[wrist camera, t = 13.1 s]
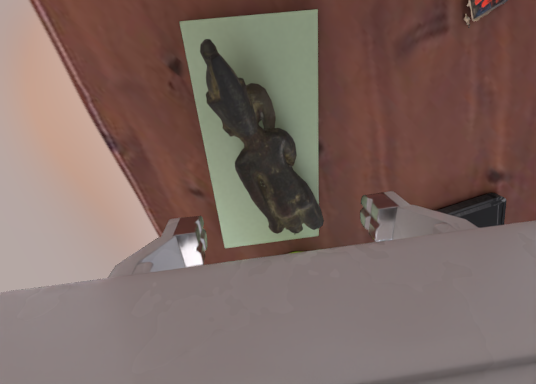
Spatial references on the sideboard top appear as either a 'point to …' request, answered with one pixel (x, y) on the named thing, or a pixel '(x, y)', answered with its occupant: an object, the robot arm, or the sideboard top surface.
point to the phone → (480, 210)
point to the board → (287, 118)
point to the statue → (260, 147)
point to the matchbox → (481, 8)
